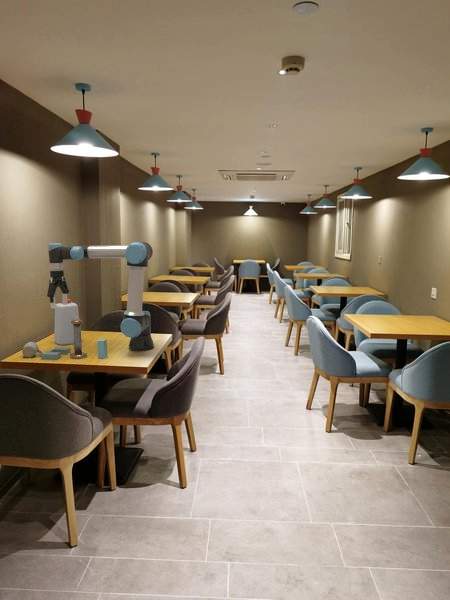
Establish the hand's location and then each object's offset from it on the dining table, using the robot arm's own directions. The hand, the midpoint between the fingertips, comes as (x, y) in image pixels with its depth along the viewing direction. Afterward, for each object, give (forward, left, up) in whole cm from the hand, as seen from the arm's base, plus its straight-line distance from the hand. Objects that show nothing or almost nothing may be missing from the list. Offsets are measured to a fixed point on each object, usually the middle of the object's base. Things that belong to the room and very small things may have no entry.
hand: (59, 306), depth 269 cm
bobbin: (-15, +9, -27) cm, 33 cm away
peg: (-29, +8, -27) cm, 41 cm away
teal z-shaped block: (-1, +9, -27) cm, 29 cm away
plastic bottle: (+8, -23, -27) cm, 36 cm away
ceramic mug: (+12, +11, -28) cm, 32 cm away
